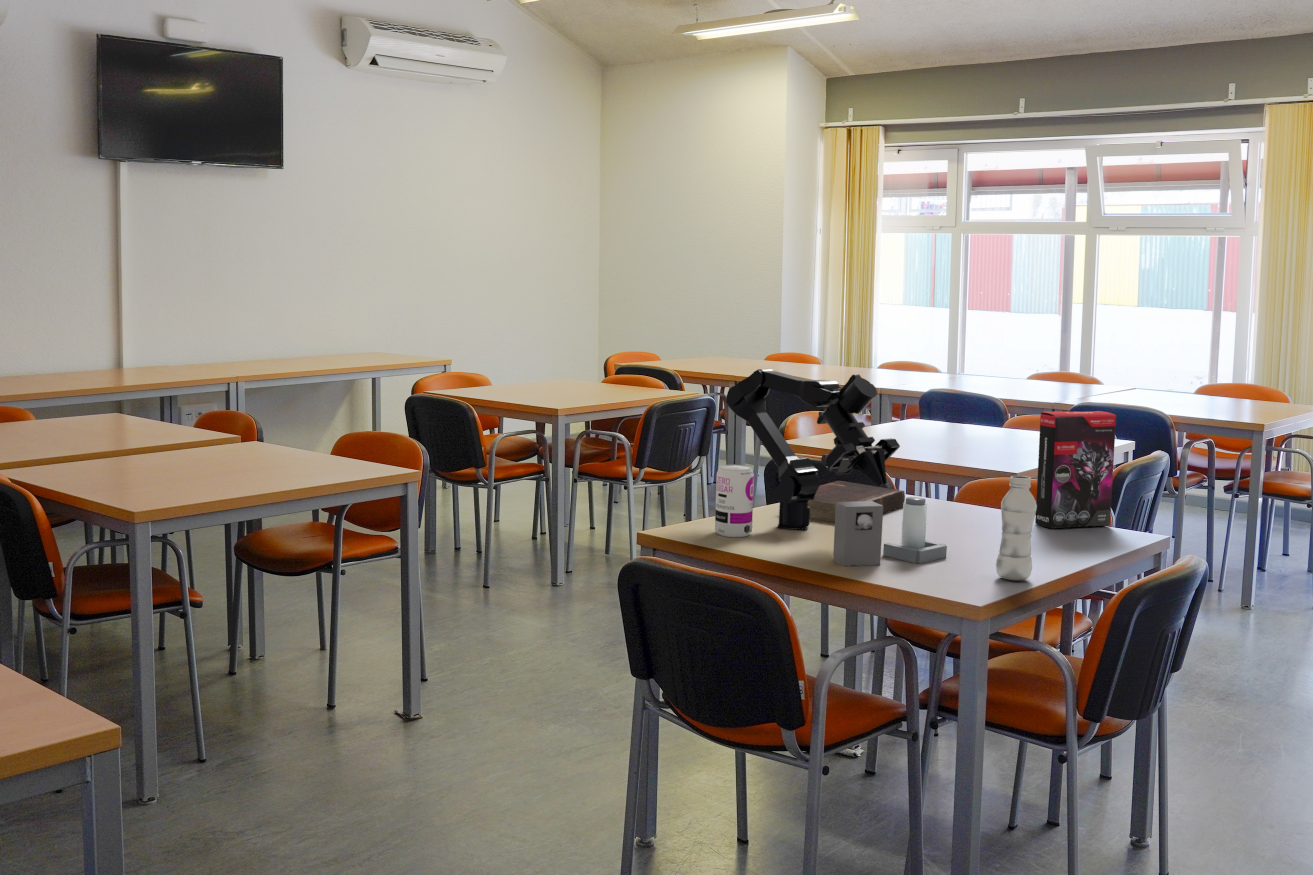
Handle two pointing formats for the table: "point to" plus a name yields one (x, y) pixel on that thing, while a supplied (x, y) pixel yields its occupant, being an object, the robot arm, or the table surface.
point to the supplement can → (734, 500)
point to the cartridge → (914, 523)
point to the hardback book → (852, 498)
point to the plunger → (863, 520)
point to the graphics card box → (1075, 469)
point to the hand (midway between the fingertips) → (883, 484)
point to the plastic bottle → (1016, 530)
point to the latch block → (857, 534)
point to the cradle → (916, 552)
